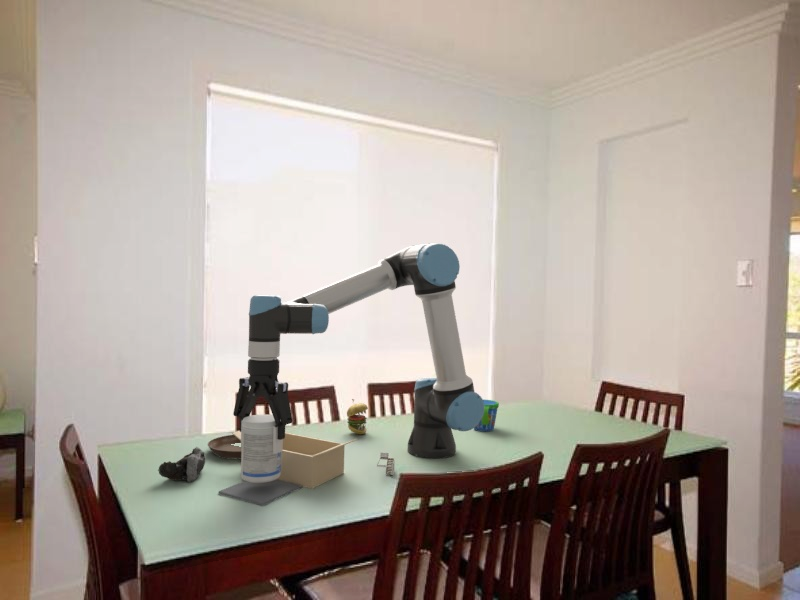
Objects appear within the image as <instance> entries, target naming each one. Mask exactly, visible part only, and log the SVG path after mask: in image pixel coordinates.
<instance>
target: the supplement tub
mask: <svg viewBox="0 0 800 600" xmlns="http://www.w3.org/2000/svg"><path fill="white" fill-rule="evenodd" d="M280 421H281V420H280ZM275 425H276V423H275V420H274V417H273V414H253V415H250V416H247V417H245V418H243V424H242V449H241V459H240V461H241V463H240V466H241V467H240V476H241V479H242V480H243V481H248V482H251V483H265V482H270V481H273V480H276V479H277V478H279V476H280V474H281V452H279V453H276V454H273V426H275Z"/></svg>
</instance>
